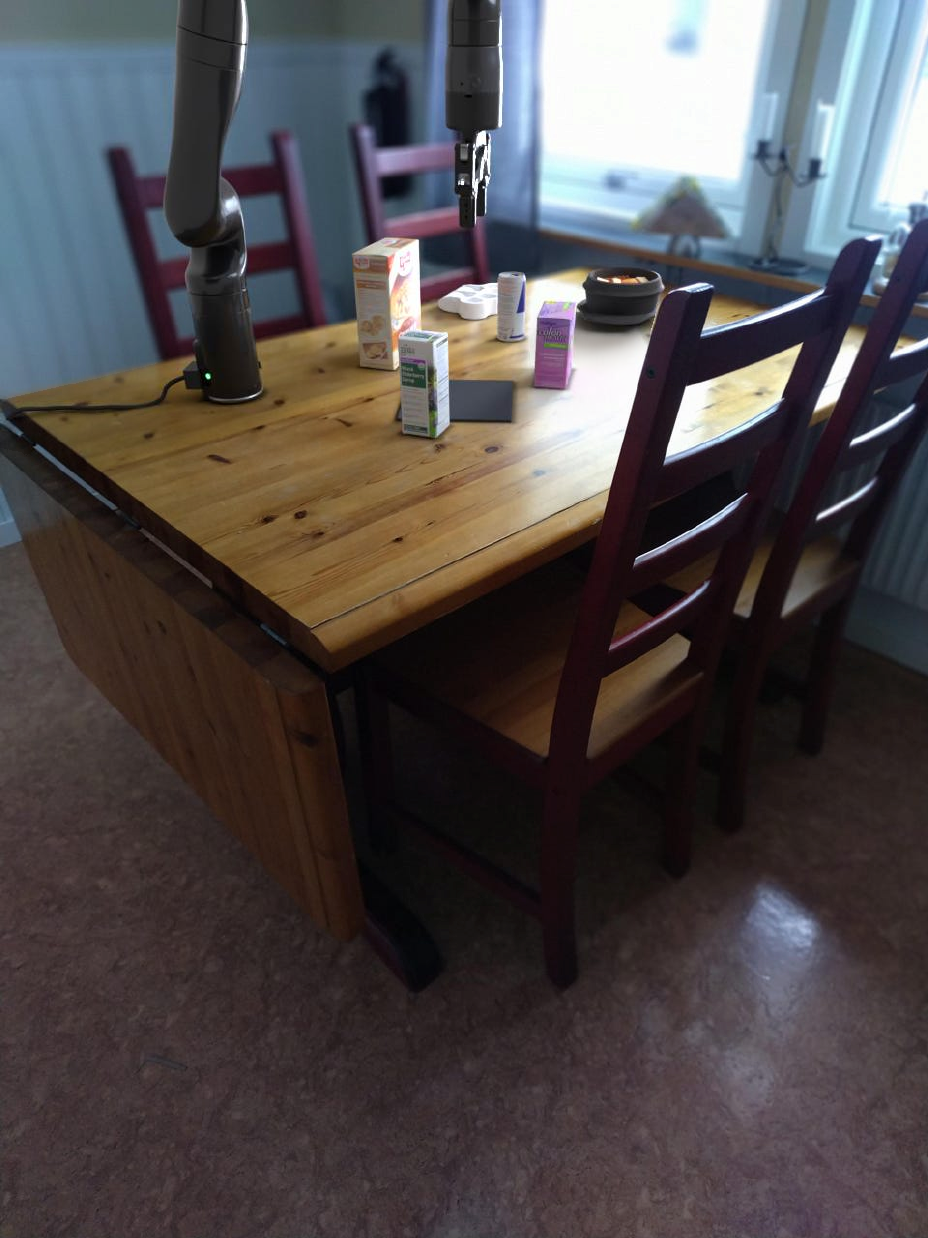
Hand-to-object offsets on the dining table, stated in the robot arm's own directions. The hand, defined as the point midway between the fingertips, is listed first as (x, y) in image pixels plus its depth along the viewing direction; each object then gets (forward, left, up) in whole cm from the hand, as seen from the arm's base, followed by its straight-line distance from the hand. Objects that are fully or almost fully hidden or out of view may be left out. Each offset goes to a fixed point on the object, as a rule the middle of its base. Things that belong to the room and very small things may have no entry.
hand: (472, 221), depth 121 cm
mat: (-3, +4, -28) cm, 29 cm away
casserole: (+28, +55, -28) cm, 68 cm away
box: (+13, +16, -28) cm, 35 cm away
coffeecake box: (-17, +27, -28) cm, 42 cm away
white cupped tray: (-2, +61, -28) cm, 67 cm away
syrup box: (-7, -8, -28) cm, 30 cm away
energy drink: (+5, +39, -28) cm, 48 cm away
